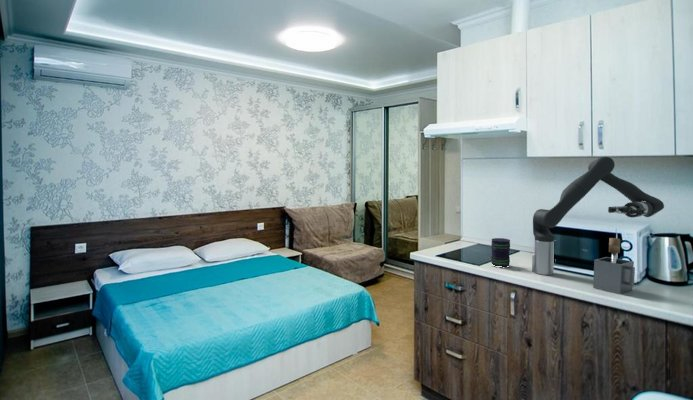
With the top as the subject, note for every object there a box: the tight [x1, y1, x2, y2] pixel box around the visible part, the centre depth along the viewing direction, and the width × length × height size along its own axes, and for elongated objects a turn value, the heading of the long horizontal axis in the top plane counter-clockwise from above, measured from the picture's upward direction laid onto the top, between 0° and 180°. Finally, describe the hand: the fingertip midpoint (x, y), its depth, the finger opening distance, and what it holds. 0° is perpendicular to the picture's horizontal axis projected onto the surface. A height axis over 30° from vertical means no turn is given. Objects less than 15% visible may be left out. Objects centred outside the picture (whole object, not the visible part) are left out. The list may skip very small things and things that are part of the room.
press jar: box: [592, 256, 636, 295], centre depth 175 cm, size 14×11×13 cm
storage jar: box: [490, 237, 511, 267], centre depth 220 cm, size 10×10×15 cm
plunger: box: [608, 237, 621, 263], centre depth 176 cm, size 9×9×22 cm
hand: (619, 211), depth 186 cm, fingers open, 8 cm apart
